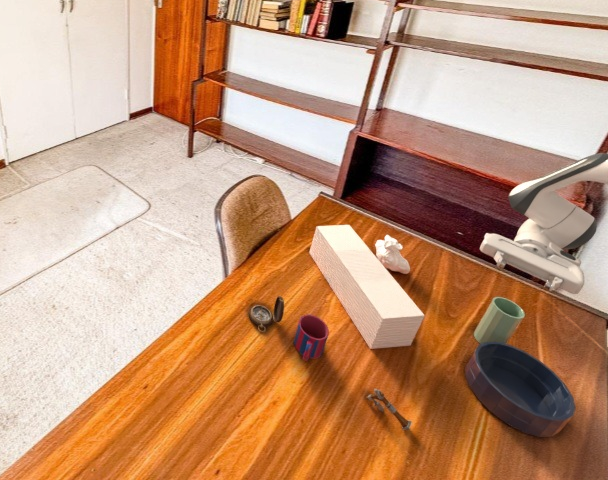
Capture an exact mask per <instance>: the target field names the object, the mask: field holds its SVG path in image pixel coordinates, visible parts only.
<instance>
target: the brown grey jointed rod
mask: <svg viewBox="0 0 608 480" xmlns="http://www.w3.org/2000/svg"><path fill="white" fill-rule="evenodd" d="M373 392H375V393H373V394H372V393H371V394H368V395H366V398H365V399H366V400H367V401H373V404H374V407H376V408H377V409H378V411H381V412H382V413H383V412H384V411H385V409H384V407H385V408H386V409H387V410H388V411H389V412H390V413H391V415H393V416H394V417H395V419H396V420H397V421H398V422H399V424H400V425H401V430H402V431H406V430H410V428H411V426H412V423H413V421H411V419H409V420H408V419H407V418H406V417H404V416H403V415H401V413H400V412H399V411H398V410H397V408H396V407H395V406H394V405H393V404H392V403H391V401H389V400H388V399H387V398H386V397H385V394H384V392H382V391H381V390H380V389H377V388H374V389H373ZM381 402H382V403H383V404H384V405H383V404H381Z"/></svg>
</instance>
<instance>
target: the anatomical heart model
mask: <svg viewBox="0 0 608 480" xmlns="http://www.w3.org/2000/svg"><path fill="white" fill-rule="evenodd" d="M374 245H375V246H374V247H375V251H376V254H375V256H376V258H377V259H378V260H379V261H380V262H381V264H382V265H383V266H384V267H385V268H386V270H390V271H392V272H399V273H401V274H402V275H407V274H409V273H410V271H411V266H410V263H409V262H408V259H406V258H404V256H402V253H401V250H403V247H404V246H403V244H402V243H399V242H398V239H396V238H394V237H392V236H391V235H389V234H386V235H385V236H384V239H383V240H382V239H377V241H376V243H375V244H374Z"/></svg>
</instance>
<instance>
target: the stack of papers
mask: <svg viewBox="0 0 608 480" xmlns="http://www.w3.org/2000/svg"><path fill="white" fill-rule="evenodd" d="M309 255H310V256H311V258H312V260H313V261H314V263H315V264H316V266H317V268H318V269H319V270H320V272H321V274H322V275H323V277H324V278H325V280H326V282H327V283H328V285H329V286H330V288H331V290H332V291H333V293H334V294H335V296H336V298H337V299H338V301H339V302H340V304H341V305H342V307H343V309H344V310H345V311H346V313H347V314H348V316H349V318H350V320H351V321H352V323H353V324H354V326H355V327H356V329H357V330H358V331H359V334H360V335H361V337H362V338H363V340H364V342H365V343H366V345H367V346H368V348H369V350H374V349H375V350H376V349H385V348H386V349H387V348H397V347H410V346H412V343H413V341H414V339H415V338H416V335H417V333H418V331H419V329H420V327H421V325H422V323H423V321H424V319H425V317H426V315H425V314H424V313H423V311H422V310H421V309H420V308H419V307H418V305H416V303H415V301H413V299H412V298H411V297H410V296H409V294H408V293H407V292H406V291H405V289H403V287H402V286H401V285H400V284H399V282H398V281H397V280H396V279H395V278H394V277H393V276H392V274H391V273H390V272H389V270H388V269H387V268H385V267H384V266H383V265H382V264H381V262H380V261H379V260H378V258H377V256H376V254H374V253H373V251H372V250H371V249H370V247H368V245H367V244H366V243H365V242H364V241H363V239H362V238H361V237H360V236H359V235H358V233H357V232H356V231H355V230H354V228H352V226H351V225H350V224H335V225H334V224H333V225H317V226H315V231H314V234H313V237H312V241H311V245H310V249H309Z"/></svg>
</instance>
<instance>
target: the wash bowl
mask: <svg viewBox="0 0 608 480" xmlns="http://www.w3.org/2000/svg"><path fill="white" fill-rule="evenodd" d="M464 368H465V369H464V370H465V371H464V373H465V375H464V376H465V379H466V382H467V383H468V386H469V388H470V390H471V391H472V392H473V394H474V395H475V396H476V398H477V400H478V401H479V402H480V403H481V405H483V406H484V407H485V408H486V409H487V410H488V411H489V412H490V413H491V414H493V415H494V416H495V417H497V418H499V419H500V420H501V421H503V423H505V424H507V425H509V426H510V427H512V428H514V429H516V430H518V431H520V432H522V433H525V434H528V435H532V436H534V437H538V438H551V437H553V436H555V435H557V434H559V433H560V432H561V431H562V429H564V427H565V426H566V425H567V423H568V422H569V421H570V420H571V419H572V418H573V417H574V415H575V411H576V402H575V399H574V396H573V394H572V393H571V391H570V389H569V388H568V386H567V385H566V383H565V382H564V381H563V379H561V378H560V377H559V376H558V374H556V372H555V371H553V370H552V369H551V368H550V367H549V366H548V365H546V364H545V363H543V362H542V361H541V360H540V359H538V358H536V357H535V356H533V355H532V354H530V353H528V352H527V351H525V350H523V349H520V348H518V347H516V346H513V345H511V344H509V343H507V344H504V343H500V342H484V343H482V344H480V343H478V345H477V347H476V348H475V349H474V352H473V354H472V355H471V357H470V359H469V360H468V362H467V363H466V365H465V366H464Z"/></svg>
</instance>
